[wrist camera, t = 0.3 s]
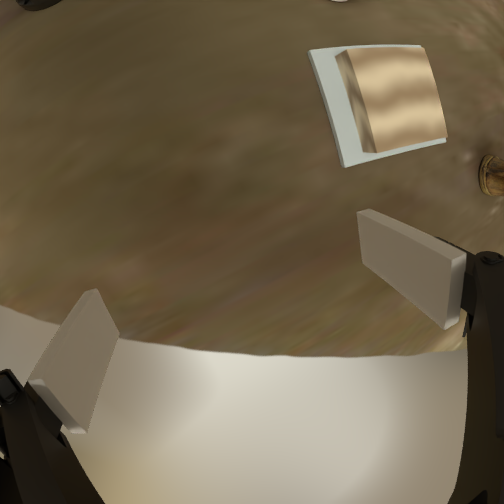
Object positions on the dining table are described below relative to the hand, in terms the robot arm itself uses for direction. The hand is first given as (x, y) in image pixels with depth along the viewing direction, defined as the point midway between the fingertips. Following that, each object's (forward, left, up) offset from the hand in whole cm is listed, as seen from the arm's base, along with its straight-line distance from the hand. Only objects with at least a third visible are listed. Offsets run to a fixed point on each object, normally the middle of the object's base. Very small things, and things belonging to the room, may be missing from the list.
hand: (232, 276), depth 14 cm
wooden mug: (+10, +54, -28) cm, 61 cm away
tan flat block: (-7, +30, -27) cm, 41 cm away
